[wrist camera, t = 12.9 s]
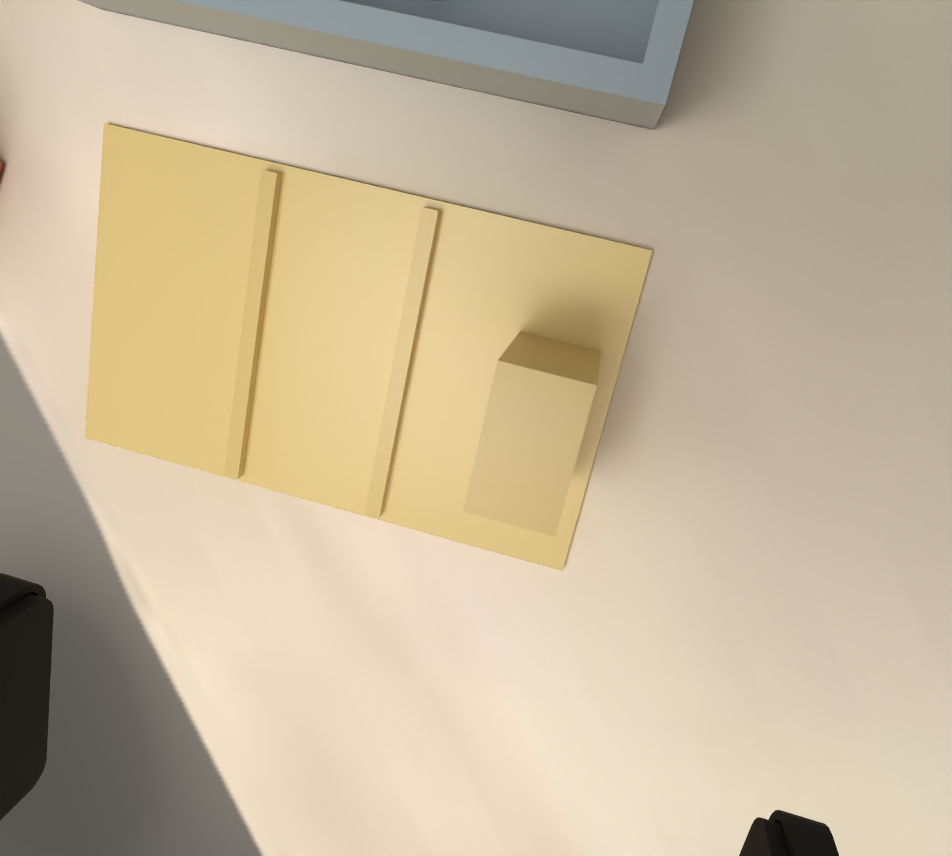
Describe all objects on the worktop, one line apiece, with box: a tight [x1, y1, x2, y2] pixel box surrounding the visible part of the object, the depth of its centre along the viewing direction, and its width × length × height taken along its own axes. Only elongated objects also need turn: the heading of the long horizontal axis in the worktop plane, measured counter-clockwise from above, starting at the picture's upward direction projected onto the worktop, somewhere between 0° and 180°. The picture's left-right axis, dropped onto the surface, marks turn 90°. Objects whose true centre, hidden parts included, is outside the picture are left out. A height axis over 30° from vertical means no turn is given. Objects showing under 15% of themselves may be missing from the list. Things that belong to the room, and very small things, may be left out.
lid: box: [85, 123, 653, 571], centre depth 27 cm, size 21×13×6 cm, turn 78°
